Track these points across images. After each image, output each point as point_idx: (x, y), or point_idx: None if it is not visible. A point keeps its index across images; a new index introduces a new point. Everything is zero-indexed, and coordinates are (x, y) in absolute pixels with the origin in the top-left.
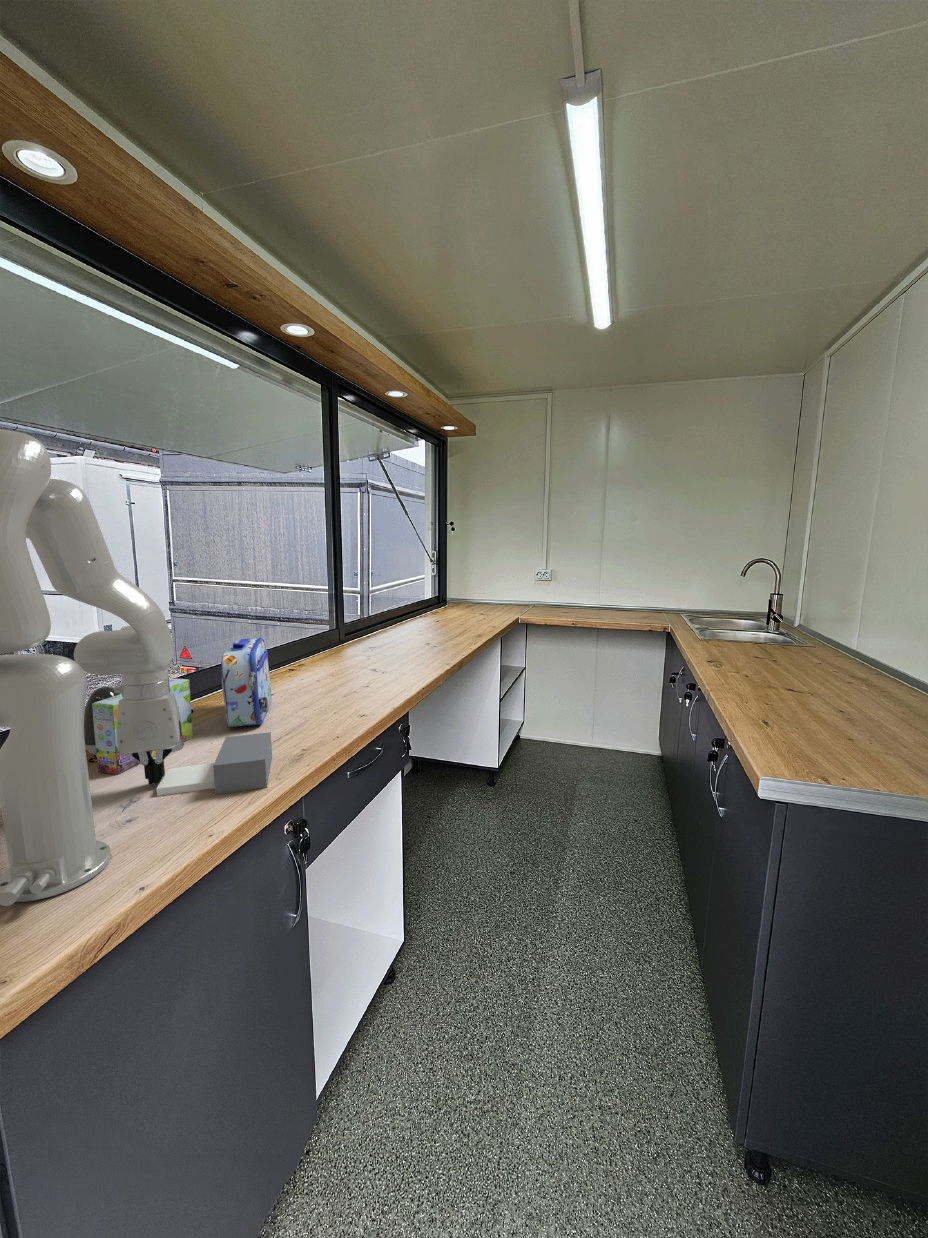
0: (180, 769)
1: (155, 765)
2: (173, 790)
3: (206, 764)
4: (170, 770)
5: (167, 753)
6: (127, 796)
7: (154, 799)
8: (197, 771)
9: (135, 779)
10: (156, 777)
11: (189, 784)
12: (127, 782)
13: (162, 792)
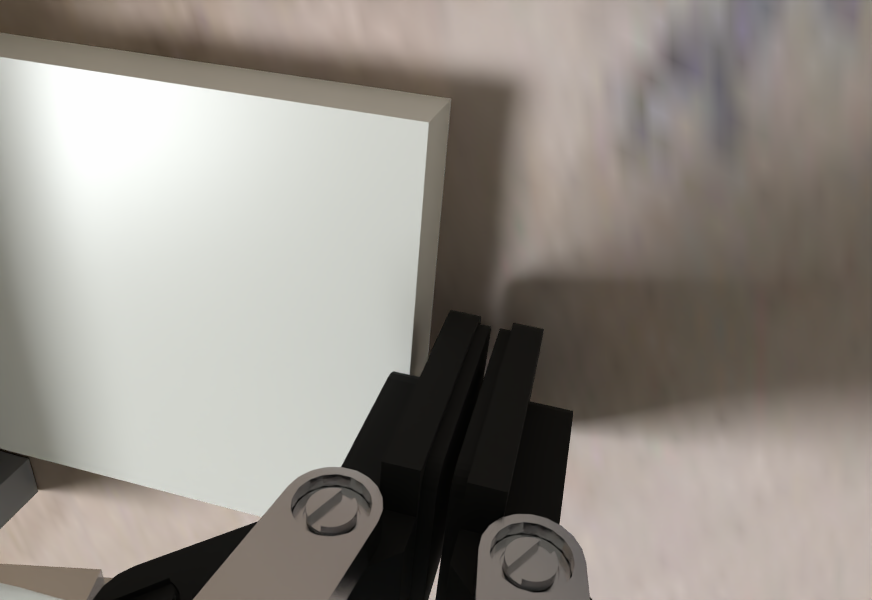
0: (286, 482)
1: (393, 456)
2: (270, 82)
3: (94, 465)
4: None
5: (166, 574)
6: (766, 246)
7: (466, 12)
8: (119, 364)
9: (691, 574)
10: (441, 348)
11: (82, 68)
12: (761, 555)
13: (384, 99)
